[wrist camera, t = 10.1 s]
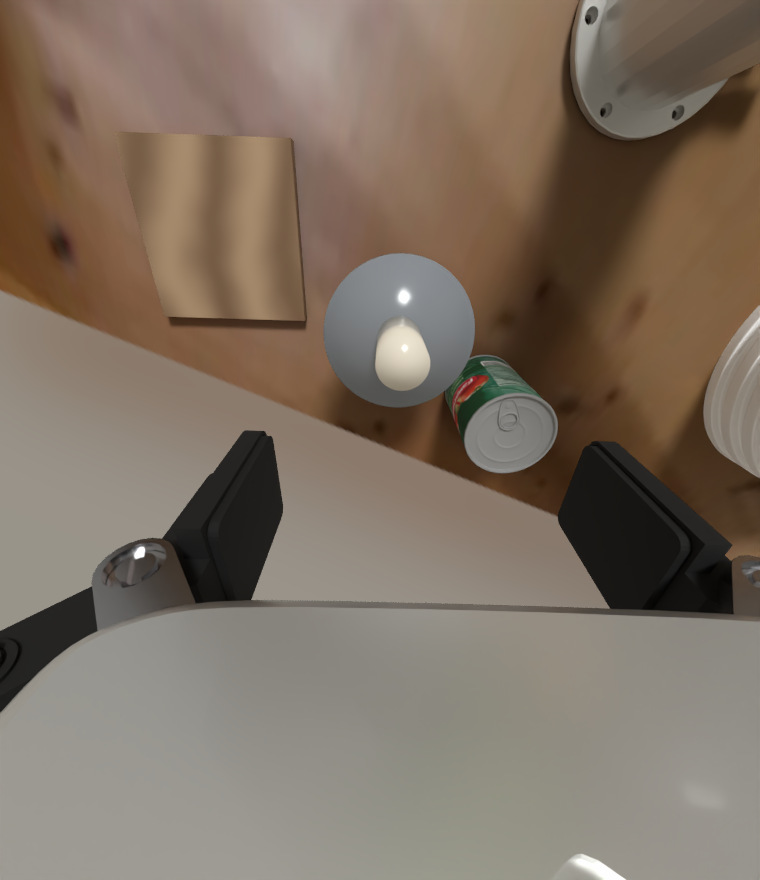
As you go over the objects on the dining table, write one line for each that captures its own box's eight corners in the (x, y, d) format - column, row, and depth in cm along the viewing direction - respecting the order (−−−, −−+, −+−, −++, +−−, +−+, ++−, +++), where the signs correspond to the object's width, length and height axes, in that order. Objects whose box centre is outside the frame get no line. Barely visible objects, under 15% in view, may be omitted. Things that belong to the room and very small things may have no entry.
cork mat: (293, 141, 28) (290, 137, 27) (306, 318, 35) (304, 320, 34) (121, 135, 28) (113, 131, 27) (169, 314, 35) (164, 316, 34)
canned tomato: (516, 411, 40) (557, 465, 31) (449, 425, 41) (469, 481, 32) (513, 346, 37) (559, 384, 27) (439, 363, 38) (458, 405, 28)
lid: (482, 254, 23) (517, 259, 17) (461, 402, 29) (482, 447, 23) (320, 251, 23) (297, 256, 17) (330, 400, 29) (316, 444, 23)
